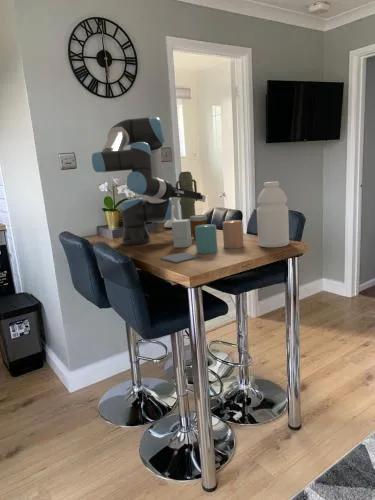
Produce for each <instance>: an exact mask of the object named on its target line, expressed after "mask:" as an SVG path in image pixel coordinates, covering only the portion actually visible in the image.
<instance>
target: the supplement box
mask: <svg viewBox="0 0 375 500" xmlns="http://www.w3.org/2000/svg"><path fill="white" fill-rule="evenodd" d="M171 230H172V239H173V247H174V248H176V249H177V248H189V247H191V246H192V245H193V241H192V235H191V228H190V219H185V220H182V219H177V220H175V221H173V222H172V228H171Z"/></svg>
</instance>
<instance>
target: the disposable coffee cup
mask: <svg viewBox="0 0 375 500" xmlns="http://www.w3.org/2000/svg"><path fill="white" fill-rule="evenodd" d="M207 220H208V217H207V214H197V215H196V214H195V215H194V216H190V222H191V227H192V232H193V240H196V236H195V226H198V225H206V224H207Z"/></svg>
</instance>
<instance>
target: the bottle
mask: <svg viewBox="0 0 375 500" xmlns="http://www.w3.org/2000/svg"><path fill="white" fill-rule="evenodd" d="M279 186H280V182H279V181H265V182H263V187H264V188H263V189H262V190H261V191H260V192H259V195H258V197H257V200H256V203H257V204H258V207H257V208H256V224H257V226H256V227H257V228H256V229H257V245H258V246H259V247H263V248H281V247H286V246H288V245H290V225H289V223H290V221H289V207H288V206H287V204H286V203H287V202H288V198H287V195H286V193H285V192H284V190H283V189H281V187H279Z"/></svg>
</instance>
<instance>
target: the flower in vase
mask: <svg viewBox="0 0 375 500" xmlns="http://www.w3.org/2000/svg"><path fill="white" fill-rule="evenodd" d="M173 200H174V199H172V209H171V219H170V220H166V221H165V223H164V225H163V227H165V228H169V229H172V222H173V221H175V220H178V219H176V217H175V215H174V211H175V207H176V206H175V205H173V204H174V201H173Z"/></svg>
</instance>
